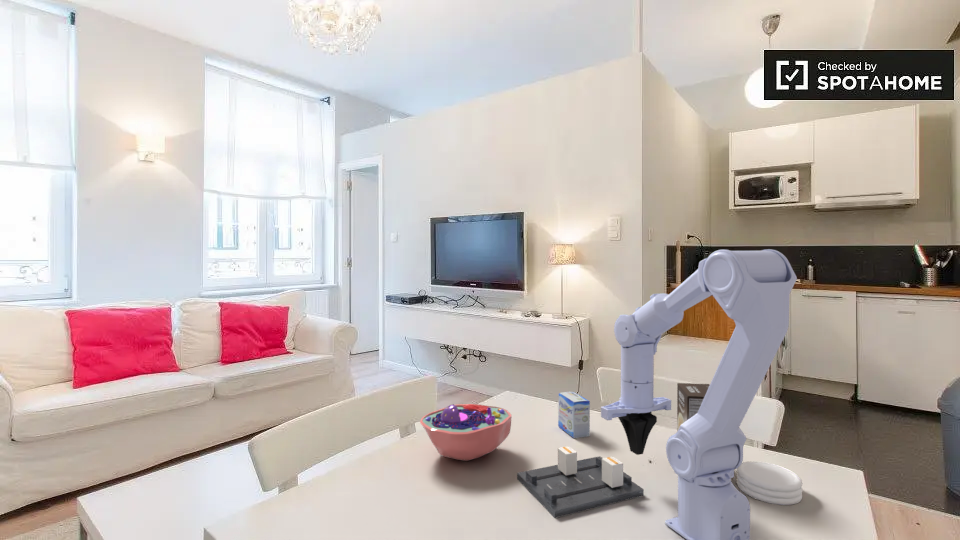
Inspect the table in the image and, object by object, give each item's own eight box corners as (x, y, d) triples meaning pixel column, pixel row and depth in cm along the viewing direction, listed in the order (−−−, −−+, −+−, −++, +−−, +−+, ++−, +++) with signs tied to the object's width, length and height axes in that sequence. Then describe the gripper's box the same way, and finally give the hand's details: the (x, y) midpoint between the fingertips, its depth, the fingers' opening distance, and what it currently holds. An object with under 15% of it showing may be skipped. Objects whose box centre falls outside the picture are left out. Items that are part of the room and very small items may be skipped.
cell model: (527, 460, 95) (527, 407, 95) (437, 482, 87) (436, 423, 86) (491, 432, 110) (490, 386, 110) (411, 448, 102) (410, 398, 101)
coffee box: (675, 457, 96) (676, 381, 95) (708, 460, 95) (709, 383, 94) (686, 478, 87) (686, 395, 86) (722, 481, 86) (723, 396, 85)
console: (643, 495, 81) (643, 482, 81) (555, 517, 74) (554, 503, 74) (596, 462, 94) (596, 451, 94) (517, 479, 87) (517, 466, 87)
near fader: (623, 485, 82) (623, 462, 81) (612, 487, 81) (612, 464, 81) (612, 477, 84) (612, 455, 84) (601, 480, 84) (601, 457, 83)
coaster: (796, 485, 85) (797, 466, 84) (807, 512, 76) (807, 491, 76) (735, 473, 89) (735, 456, 89) (738, 498, 80) (738, 478, 80)
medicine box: (557, 427, 114) (557, 392, 113) (573, 424, 115) (573, 390, 115) (573, 439, 106) (573, 402, 106) (590, 436, 107) (590, 400, 107)
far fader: (577, 473, 86) (577, 451, 86) (566, 475, 85) (566, 453, 85) (568, 466, 89) (568, 445, 89) (557, 468, 88) (557, 447, 88)
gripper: (652, 370, 90) (652, 438, 91) (591, 378, 85) (590, 449, 86) (680, 379, 84) (679, 452, 84) (615, 388, 79) (614, 466, 79)
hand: (636, 452), depth 84 cm, fingers closed
